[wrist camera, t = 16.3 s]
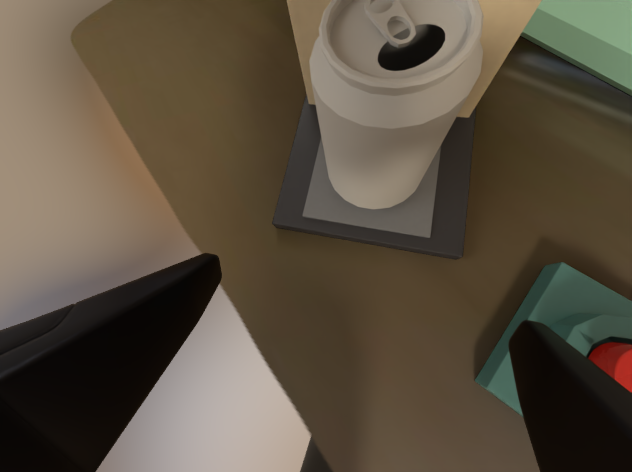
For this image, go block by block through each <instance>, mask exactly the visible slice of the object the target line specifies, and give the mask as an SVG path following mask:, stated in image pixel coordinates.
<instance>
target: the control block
mask: <svg viewBox="0 0 632 472" xmlns="http://www.w3.org/2000/svg"><path fill="white" fill-rule="evenodd" d="M524 320H531V321H536V322H540V323H543V324H545V325H546V326H548V327H549V328H550V329H551V330H553V331H554V332H555V333H556V334H558V335H559V336H560V337H561V338H563V339H564V340H565V341H567V342H568V343H569V344H570V345H572V346H573V347H574V348H575V349H577V350H578V351H579V352H580V353H582V354H583V355H584V356H586V357H587V358H588V357H589V355H590V353H591V352H592V351H593V350H594V349H595V348H596V347H597V346H599V345H601V344H604V343H608V342H621V343H628V344H632V301H630V300H629V299H627V298H625V297H623V296H621V295H620V294H618V293H616V292H614V291H613V290H611V289H609V288H607V287H606V286H604V285H602V284H600V283H599V282H597V281H595V280H593V279H591V278H590V277H588V276H586V275H584V274H583V273H581V272H579V271H577V270H576V269H574V268H572V267H570V266H569V265H567V264H565V263H563V262H560V263H555V264H550V265H545V266H544V268H543V270H542V271H541V273H540V275H539V276H538V278H537V279H536V281H535V283H534V284H533V286H532V288H531V289H530V291H529V293H528V294H527V296H526V297H525V299H524V301H523V302H522V304H521V306H520V307H519V309H518V311H517V312H516V314H515V316H514V317H513V319H512V320H511V322H510V324H509V325H508V327H507V329H506V330H505V332H504V334H503V335H502V337H501V338H500V340H499V342H498V343H497V345H496V347H495V348H494V350H493V352H492V353H491V355H490V357H489V358H488V360H487V361H486V363H485V365H484V366H483V368H482V370H481V371H480V373H479V375H478V376H477V378H476V379H475V382H477V383H478V384H479V385H481V386H482V387H483V388H485V389H486V390H487V391H489V392H490V393H491V394H493V395H494V396H495V397H497V398H498V399H499V400H501V401H502V402H504V403H505V404H506V405H508V406H509V407H510V408H512V409H513V410H514V411H516V412H517V413H518V414H520V415H521V416H522V417H523V414H522V411H521V407H520V403H519V399H518V394H517V389H516V384H515V379H514V374H513V369H512V364H511V358H510V353H509V348H508V343H509V339H510V337H511V336H512V334H513V333H514V332H515V330H516V329H517V327H518V326H519V324H520V323H521V322H522V321H524Z"/></svg>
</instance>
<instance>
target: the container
mask: <svg viewBox="0 0 632 472" xmlns="http://www.w3.org/2000/svg"><path fill="white" fill-rule="evenodd" d="M520 36H522V37H524V38H526V39H527V40H529V41H531V42H533V43H535V44H537V45H538V46H540V47H542V48H544V49H546V50H548V51H549V52H551V53H553V54H555V55H557V56H559V57H561V58H562V59H564V60H566V61H568V62H570V63H572V64H573V65H575V66H577V67H579V68H581V69H583V70H584V71H586V72H588V73H590V74H592V75H594V76H596V77H597V78H599V79H601V80H603V81H605V82H607V83H608V84H610V85H612V86H614V87H616V88H618V89H619V90H621V91H623V92H625V93H627V94H629V95H631V96H632V0H542V1H541V2H540V4H539V6H538V7H537V9H536V11H535V12H534V14H533V15H532V17H531V19H530V20H529V22H528V23H527V25H526V27H525V28H524V30H523V31H522V33H521V35H520Z"/></svg>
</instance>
